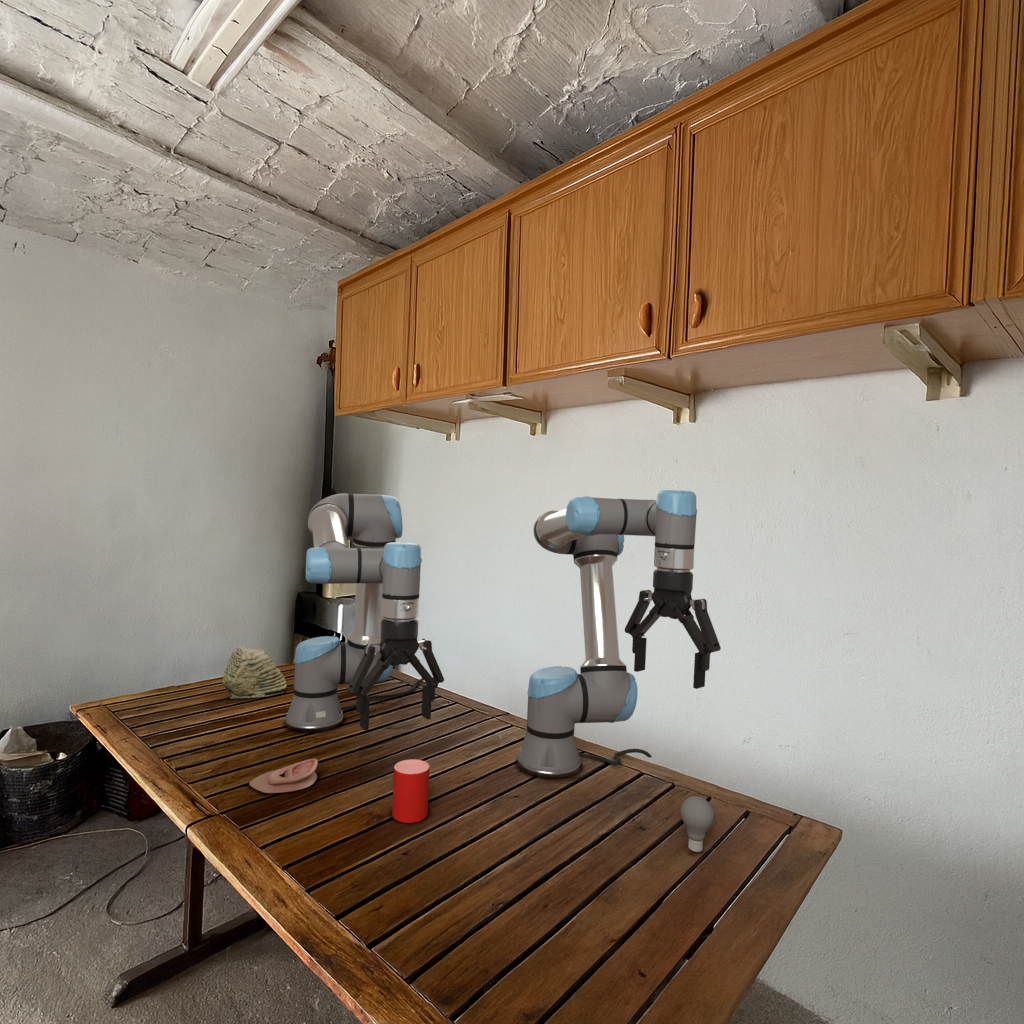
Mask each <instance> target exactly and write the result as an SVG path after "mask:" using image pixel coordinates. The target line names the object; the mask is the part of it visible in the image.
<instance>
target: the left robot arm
mask: <svg viewBox="0 0 1024 1024" xmlns="http://www.w3.org/2000/svg"><path fill="white" fill-rule="evenodd" d="M307 527H308V530H309V532H310V533H311V535H312V538H313V547H310V548H308V549H307V550H306V556H305V580H306V581H307V582H308V583H309V584H321V585H331V584H332V585H334V584H336V585H337V584H338V585H339V584H355V595H354V596H355V597H354V615H353V630H352V631H351V632H350V633H348V635H347V641H341V640H340V638H339V637H338V636H335V635H334V636H333V635H331V636H329V635H325V636H317V637H312V638H308V639H306V640H303V641H301V642H299V643H298V644H297V645H296V648H295V655H294V660H293V663H294V680H293V695H292V696H293V697H292V699H291V702H290V704H289V708H288V711H287V713H286V715H285V726H286V728H287V729H289V730H291V731H294V732H295V731H296V732H301V733H316V732H325V731H329V730H332V729H335V728H337V727H339V726H340V725H342V723H343V722H344V714H343V711H345V710H351V709H356V712H357V713H359V727H360V728H361V729H362V730H363V731H369V728H370V727H369V726H370V703H371V702H370V701H371V700H375V699H376V700H377V699H390V698H395V697H402V696H405V695H408V694H411V693H412V692H414V691H415V690H416V687H417V686H418V685H419V684H420V683H422V682H425V683H426V684H422V694H421V717H423V718H424V719H426V720H431V717H432V716H431V715H432V703H433V702H435V700H436V689H437V688H438V687H439V684H441V683H444V681H445V678H444V675H443V672H442V671H441V668H440V666H439V664H438V660H437V658H436V657H435V654H434V652H433V643H432V641H431V640H429V639H427V638H425V637H424V638H422V639H421V640H418V636H419V620H418V619H417V618H419V615H420V589H421V571H422V570H421V567H422V561H423V560H422V547H421V545H420V544H418V543H416V542H405V541H397V539H401V538H402V536H403V532H404V531H403V529H404V526H403V515H402V508H401V504H400V502H399V500H398V498H397V497H395V496H393V495H385V494H375V493H374V494H370V493H369V494H368V493H367V494H366V493H365V494H364V493H345V492H343V493H336V494H332V495H329V496H326V497H324V498H322V499H320V500H319V501H318V502H317V503H316V504H314V505H313V507H312V508H311V509H310V511H309V513H308V517H307ZM348 537H349V538H352V544H353V546H355V547H349V542H348V539H347V538H348ZM418 650H420V651H421V652H422V654H423V657H424V659H425V661H426V664H427V667H428V668H429V670H430V673H429V671H428V669H427V668H426V667H424V665H423V664H422V663H421V661H420V659H419V658H418V656H416V653H417V651H418ZM408 664H410V665H411V666H412V667H413V668H414V670H415V671H416V672H417V673H418V675H419V676H420V677H421V678H420V679H418V680H417V681H415V682H414V683H413V685H412V688H411V689H408V690H405V691H401V692H397V693H390V694H389V693H388V694H377V695H368V693H369V692H370V691H371V689H372V688H373V687H374V685H375V684H376V683H384V682H386V681H387V680H388V679H389V678H390V676H391V674H392V671H393V668H394V667H397V666H400V665H403V666H404V665H405V666H406V665H408ZM339 685H347V688H346V691H347V692H348V693H350V694H351V695H352V696H356V700H355V701H356V702H355V703H354V704H350V705H343V706H341V702H340V699H339V695H338V686H339Z"/></svg>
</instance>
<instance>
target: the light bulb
mask: <svg viewBox="0 0 1024 1024" xmlns="http://www.w3.org/2000/svg"><path fill="white" fill-rule="evenodd" d="M680 817H681V820H682V822H683V824H684V826H685V829H686V834H687V836H688V837H687V838H688V845H687V847H688V849H689V850H690V851H692V852H695V853H699V852H702V851H703V848H704V847H703V846H704V839H705V838H706V833H707V831H708V830H709V829H710V828H711V826H712V824H713V822H714V818H715V813H714V809H713V807H712V805H711V804H710V802H709V801H708V800H707V799H705V797H702V796H699V795H692V796H689V797H687V798H686V799H685V800H684V801H683V802H682V803H681V805H680Z"/></svg>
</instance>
